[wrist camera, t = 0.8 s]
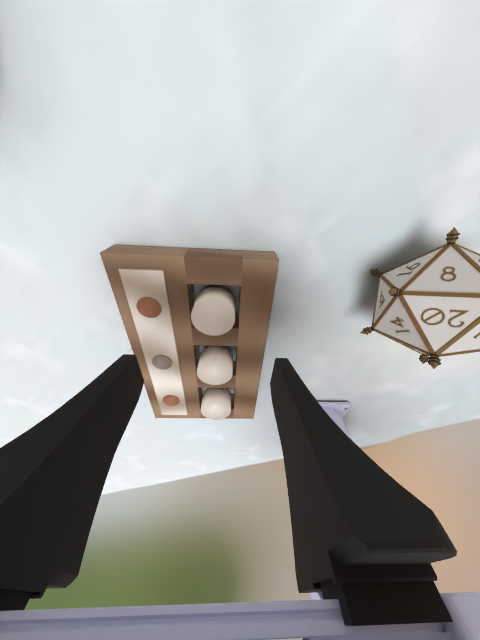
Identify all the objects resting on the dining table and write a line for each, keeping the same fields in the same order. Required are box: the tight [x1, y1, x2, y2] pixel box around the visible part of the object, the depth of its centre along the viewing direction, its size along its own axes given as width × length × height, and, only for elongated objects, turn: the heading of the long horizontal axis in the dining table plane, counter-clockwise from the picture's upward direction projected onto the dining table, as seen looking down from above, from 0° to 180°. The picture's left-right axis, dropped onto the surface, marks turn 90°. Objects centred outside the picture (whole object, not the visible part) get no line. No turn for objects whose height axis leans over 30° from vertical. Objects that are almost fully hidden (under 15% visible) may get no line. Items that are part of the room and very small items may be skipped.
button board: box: [100, 245, 279, 418], centre depth 20 cm, size 20×12×2 cm, turn 177°
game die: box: [361, 227, 480, 369], centre depth 14 cm, size 9×8×10 cm
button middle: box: [197, 346, 233, 385], centre depth 19 cm, size 3×3×2 cm
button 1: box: [191, 287, 235, 336], centre depth 16 cm, size 3×3×2 cm
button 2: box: [201, 388, 231, 419], centre depth 23 cm, size 3×3×2 cm
